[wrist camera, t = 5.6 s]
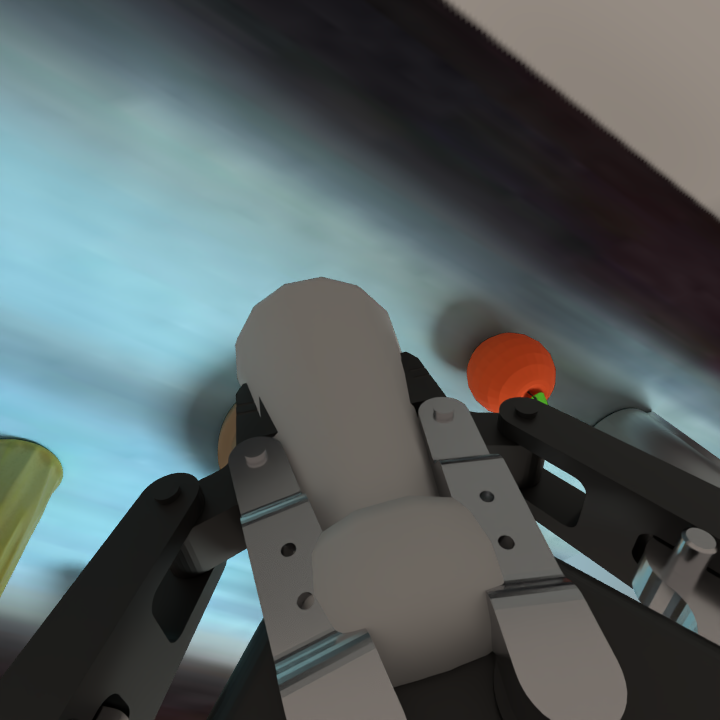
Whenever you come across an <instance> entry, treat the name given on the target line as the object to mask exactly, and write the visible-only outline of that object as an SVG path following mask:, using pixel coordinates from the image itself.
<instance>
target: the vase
mask: <svg viewBox="0 0 720 720" xmlns="http://www.w3.org/2000/svg"><path fill="white" fill-rule="evenodd" d="M62 478H63V469H62V466H61V463H60V461H59V460H58V458H57V457H56V456H55V455H54V454H53V453H52V452H50V451H49V450H47V449H46V448H44V447H42V446H40V445H38V444H35V443H32V442H28V441H23V440H17V439H0V597H1V595H2V593H3V591H4V589H5V587H6V585H7V583H8V581H9V579H10V577H11V575H12V573H13V571H14V569H15V567H16V565H17V563H18V561H19V559H20V557H21V555H22V553H23V551H24V549H25V547H26V545H27V543H28V541H29V539H30V537H31V535H32V533H33V532H34V530H35V528H36V526H37V524H38V522H39V520H40V518H41V516H42V514H43V512H44V510H45V508H46V505H47V503H48V501H49V499H50V497H51V495H52V493H53V492H54V491H55V489H56V488H57V487H58V486H59V485H60V483H61V481H62Z"/></svg>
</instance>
